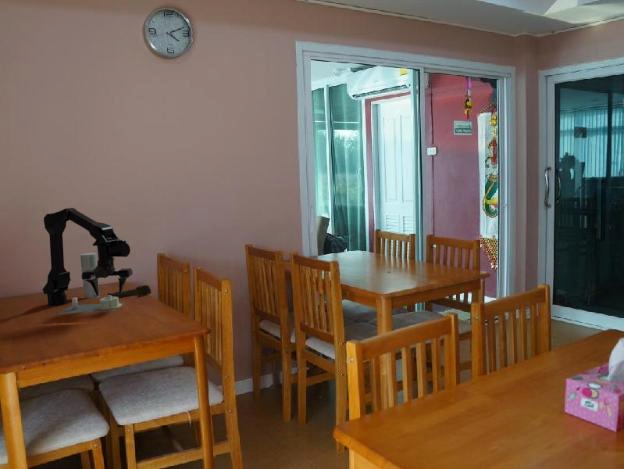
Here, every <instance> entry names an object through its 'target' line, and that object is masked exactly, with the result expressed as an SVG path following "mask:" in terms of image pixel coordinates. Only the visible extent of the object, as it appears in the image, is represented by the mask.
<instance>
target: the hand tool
mask: <svg viewBox="0 0 624 469" xmlns="http://www.w3.org/2000/svg"><path fill="white" fill-rule="evenodd" d="M151 290H152V289H151V287H150V286H149V285H148V284H144V285H139V286H136V287H135V288H133V289H128V290H122V294H120V292H119V291H116V292H112V293H110V292H108V293H107V296H108V295H111V296H112V297H118V298H119V299H122V298H123V299H124V298H128V297H132V296H134V297H135V296H137V297H142V296H141V295H145V296H148V295H150V294H151V293H152V291H151ZM146 294H147V295H146Z"/></svg>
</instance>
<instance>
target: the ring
mask: <svg viewBox="0 0 624 469" xmlns="http://www.w3.org/2000/svg"><path fill="white" fill-rule="evenodd" d="M119 299H120V298H118V297H112V299H110V300H107V296H105V297H102V298H100V299H99V304H100V307H101V308H110V307H116V306H118V305H119V303H120V300H119Z"/></svg>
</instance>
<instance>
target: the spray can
mask: <svg viewBox="0 0 624 469" xmlns="http://www.w3.org/2000/svg"><path fill="white" fill-rule="evenodd" d="M79 256H80V257H79V258H80V266H81V274H82V273H83V272H85V271H87V270H94V269H95V268H96V266H97V262H98V260H97V253H96V252H87V253H86V252H85V253H81V254H80V255H79ZM85 280H86V279H84V280H83V279H82V284H83V285H82V286H83V294H84V295H83V296H84V299H93V298H94V299H97V298H100V294H99V295H98V296H97V295H96V293H95V291H94V289H93V287H92V285H91V284H90V283H89V282H88V281H85ZM98 288H99V289H100V286H99V283H98Z"/></svg>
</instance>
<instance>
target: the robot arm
mask: <svg viewBox="0 0 624 469" xmlns="http://www.w3.org/2000/svg"><path fill="white" fill-rule="evenodd" d="M68 221H70V222H73V223H74V224H76V225H78V226H79V227H81V228H83V229H84V230H86V231H87V232H89V235H90V236H91V237H92V238H93V239H94V240H95V241H94V242H93V243H92V246H93V247H96V249H97V250H96V252H97V258H98V260H97V266H96V268H95V269H94V270H87V271H85V272H83V273H82V272H81V280H82V281H83V280H84V279H86V280H85V281H88V282H89V283H90V284H91V285H92V287H93V289H94V291H95V293H96V295H97V296H98V295H99V296H100V287H99V288H98V284H99V279H101V278H102V279H106V278H108V277H113V276H118V278H117V279H118V288H119V290H118V292H120V294H122V291H124V287H125V283H126V281H127V280H128V279H129V278H130V277H131V276H132V275H133V274H134V273H133V269H132V268H131V267H130V268H129V267H128V268H121V269H118V270H116V267H115V258H127V257H128V256H129V255H130V253H131V247H130V245H129V243H128V242H127V240H126V239H120V237H119V236H118V235H117V233H116V232H115V230H114V228H113V226H111V225H109V224H107V223H106V222H105V223H104V222H98V221H96V220H95V219H92V218H91V217H89V216H87V215H85V214H84V213H82V212H80V211H79V210H77V209H76V208H74V207H68V208H67V207H66V208H64V209H61V210H58V211H56V212H51V213H50V212H49V213H47V214H45V216H44V217H43V224H44V225H43V226H44V229H45V231H47V233H48V235H49V248H50V249H49V250H50V271H49V272H48V274H47V278H46V280H47V281H46V284H45V285H44V286H43V288H42V292H43V295H47V296H46V297H47V303H48V304H47V305H48V306H51V307H57V306H64V305H66V304H68V299H67V297H68V296H67V294H66V291H68V290H69V285H70V283H71V281H72V279H71V272H70V271H67V269H66V268H65V259H64V258H65V257H64V241H63V240H64V239H63V235H64V232H65V229H66V228H67V222H68Z"/></svg>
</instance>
